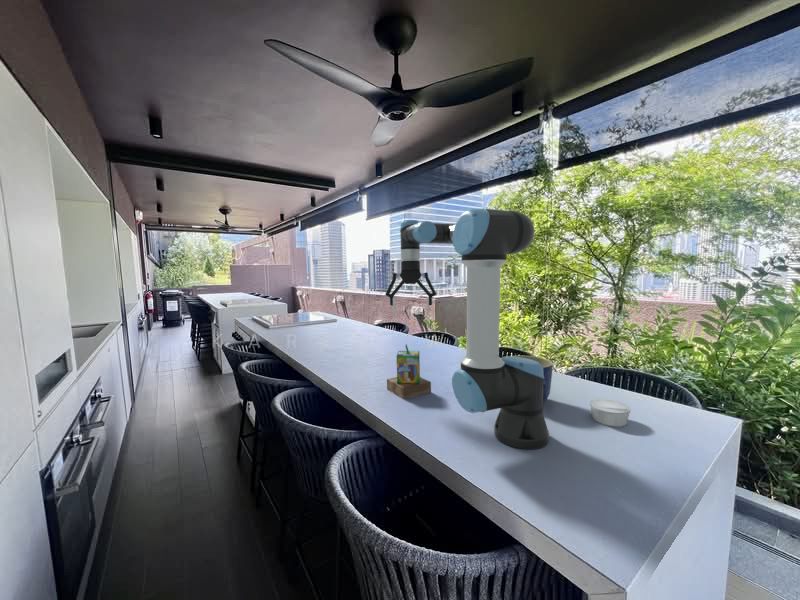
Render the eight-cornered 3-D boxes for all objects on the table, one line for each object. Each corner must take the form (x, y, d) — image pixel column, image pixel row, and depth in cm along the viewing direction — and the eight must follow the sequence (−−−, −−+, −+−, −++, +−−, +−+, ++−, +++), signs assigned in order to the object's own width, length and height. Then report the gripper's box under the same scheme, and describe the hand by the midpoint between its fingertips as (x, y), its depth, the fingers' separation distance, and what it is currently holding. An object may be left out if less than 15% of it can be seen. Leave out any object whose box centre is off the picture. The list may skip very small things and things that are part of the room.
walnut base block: (430, 394, 138) (430, 381, 138) (403, 400, 132) (403, 388, 131) (413, 385, 150) (413, 373, 149) (387, 390, 143) (386, 379, 142)
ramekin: (609, 431, 104) (610, 414, 103) (581, 416, 115) (581, 400, 114) (638, 426, 107) (639, 409, 106) (608, 412, 118) (608, 397, 117)
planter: (499, 405, 124) (499, 364, 123) (508, 390, 139) (508, 353, 138) (550, 413, 117) (551, 369, 115) (553, 397, 132) (554, 358, 130)
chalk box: (419, 384, 135) (419, 347, 134) (396, 384, 136) (396, 347, 135) (420, 377, 144) (420, 342, 143) (398, 376, 145) (398, 342, 144)
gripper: (441, 260, 139) (442, 312, 140) (380, 261, 141) (381, 312, 143) (442, 259, 131) (442, 314, 133) (377, 260, 134) (378, 314, 136)
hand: (411, 313), depth 138 cm, fingers open, 13 cm apart
